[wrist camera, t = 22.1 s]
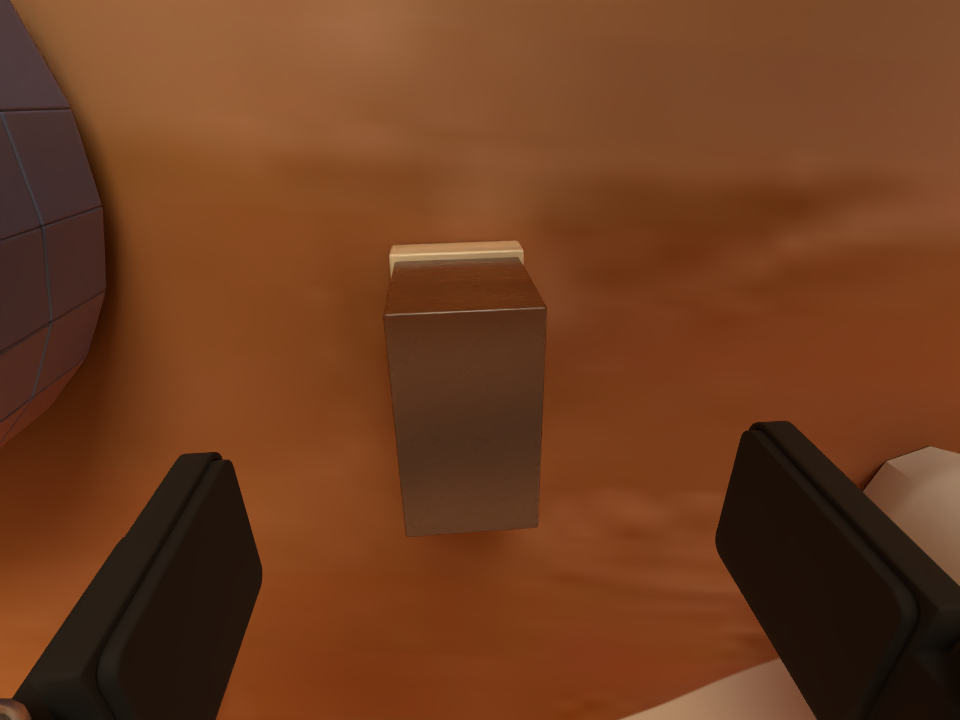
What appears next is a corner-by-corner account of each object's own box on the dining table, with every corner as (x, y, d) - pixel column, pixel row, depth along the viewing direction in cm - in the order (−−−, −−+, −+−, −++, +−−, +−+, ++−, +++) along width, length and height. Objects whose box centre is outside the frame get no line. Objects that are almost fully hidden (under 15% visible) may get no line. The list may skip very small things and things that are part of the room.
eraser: (390, 244, 17) (374, 306, 12) (518, 239, 17) (554, 297, 12) (407, 432, 20) (400, 543, 15) (515, 426, 20) (543, 533, 15)
